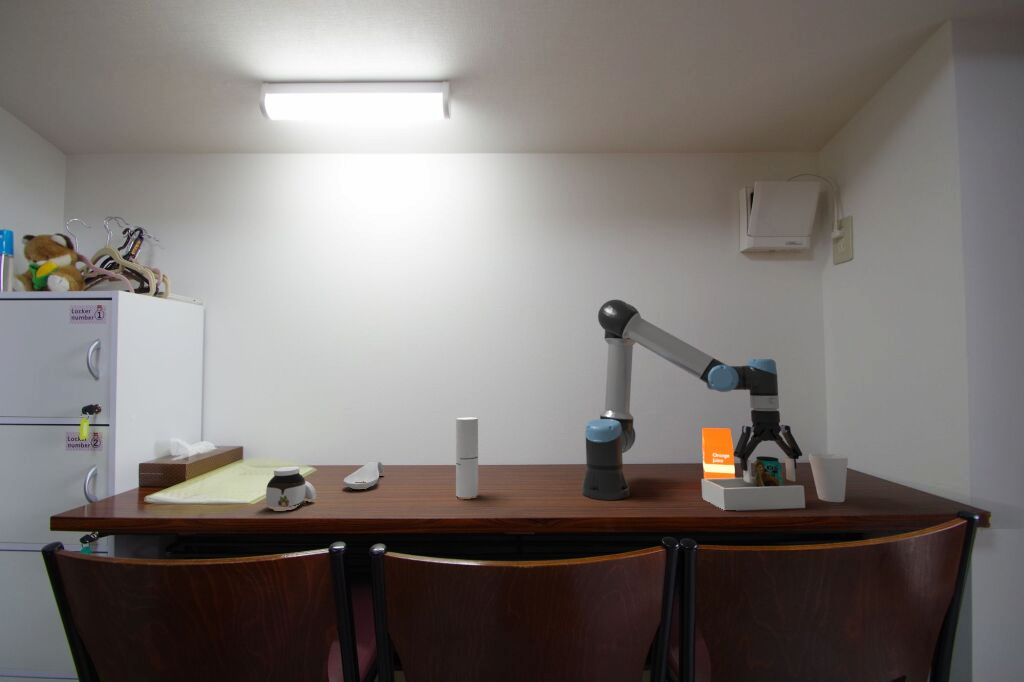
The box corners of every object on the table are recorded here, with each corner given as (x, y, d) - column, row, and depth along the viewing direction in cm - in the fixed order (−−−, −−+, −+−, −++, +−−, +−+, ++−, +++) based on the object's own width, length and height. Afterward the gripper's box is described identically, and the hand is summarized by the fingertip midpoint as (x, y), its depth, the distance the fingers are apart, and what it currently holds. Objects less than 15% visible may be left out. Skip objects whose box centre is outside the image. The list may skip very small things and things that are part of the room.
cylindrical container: (472, 500, 131) (472, 419, 133) (452, 498, 133) (452, 419, 135) (481, 494, 138) (481, 417, 140) (462, 492, 140) (461, 417, 142)
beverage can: (751, 498, 126) (749, 457, 127) (763, 494, 130) (760, 455, 131) (776, 503, 120) (774, 461, 121) (788, 499, 124) (785, 458, 125)
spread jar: (261, 512, 122) (262, 471, 123) (282, 501, 133) (284, 463, 134) (302, 512, 122) (303, 471, 123) (320, 500, 133) (321, 463, 134)
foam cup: (841, 495, 131) (838, 453, 132) (857, 504, 122) (853, 459, 123) (806, 494, 133) (803, 452, 134) (819, 502, 124) (816, 458, 125)
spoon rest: (371, 493, 142) (371, 471, 142) (337, 493, 142) (337, 472, 143) (393, 476, 165) (393, 458, 166) (364, 477, 166) (364, 458, 166)
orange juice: (704, 484, 147) (701, 426, 148) (732, 486, 144) (728, 427, 145) (706, 490, 139) (703, 429, 141) (736, 492, 136) (732, 430, 138)
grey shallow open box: (724, 510, 118) (723, 489, 118) (702, 498, 130) (701, 478, 130) (805, 507, 120) (803, 486, 120) (775, 496, 131) (774, 476, 132)
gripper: (733, 411, 123) (737, 485, 121) (813, 409, 125) (818, 482, 123) (718, 409, 130) (722, 479, 128) (794, 407, 132) (799, 476, 130)
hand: (769, 481), depth 126 cm, fingers open, 13 cm apart
